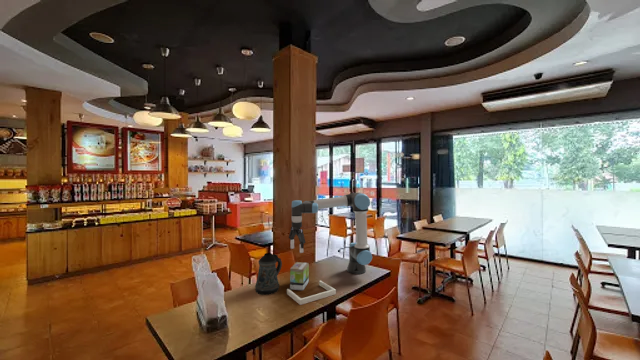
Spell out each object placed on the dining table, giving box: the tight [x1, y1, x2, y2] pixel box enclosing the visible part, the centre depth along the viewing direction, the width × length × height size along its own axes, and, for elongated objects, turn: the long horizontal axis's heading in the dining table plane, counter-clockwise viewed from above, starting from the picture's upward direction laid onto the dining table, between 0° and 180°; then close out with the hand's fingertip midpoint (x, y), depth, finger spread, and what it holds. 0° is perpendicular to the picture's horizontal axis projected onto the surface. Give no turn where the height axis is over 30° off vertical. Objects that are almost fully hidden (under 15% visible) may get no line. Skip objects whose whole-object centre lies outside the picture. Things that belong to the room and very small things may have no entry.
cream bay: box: [286, 280, 337, 306], centre depth 180 cm, size 27×18×3 cm
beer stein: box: [254, 252, 283, 296], centre depth 188 cm, size 16×19×25 cm
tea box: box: [289, 261, 310, 291], centre depth 193 cm, size 15×10×15 cm
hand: (296, 250), depth 198 cm, fingers open, 13 cm apart
